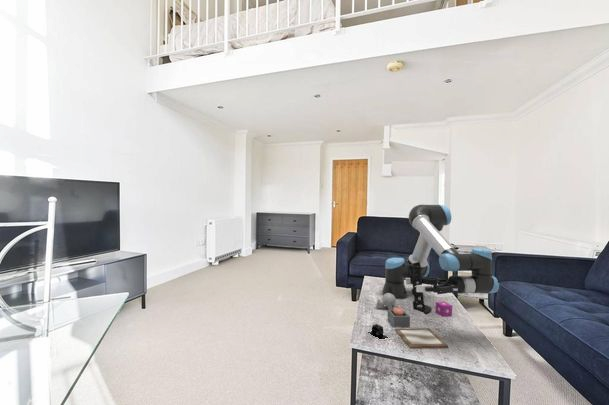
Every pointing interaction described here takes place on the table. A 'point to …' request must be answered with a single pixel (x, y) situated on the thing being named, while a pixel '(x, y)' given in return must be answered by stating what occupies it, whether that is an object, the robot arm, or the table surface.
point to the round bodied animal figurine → (387, 301)
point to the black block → (378, 331)
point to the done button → (398, 311)
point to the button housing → (398, 319)
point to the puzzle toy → (443, 309)
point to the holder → (414, 279)
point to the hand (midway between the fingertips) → (411, 284)
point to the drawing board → (421, 338)
